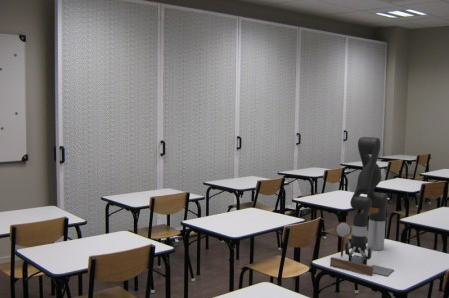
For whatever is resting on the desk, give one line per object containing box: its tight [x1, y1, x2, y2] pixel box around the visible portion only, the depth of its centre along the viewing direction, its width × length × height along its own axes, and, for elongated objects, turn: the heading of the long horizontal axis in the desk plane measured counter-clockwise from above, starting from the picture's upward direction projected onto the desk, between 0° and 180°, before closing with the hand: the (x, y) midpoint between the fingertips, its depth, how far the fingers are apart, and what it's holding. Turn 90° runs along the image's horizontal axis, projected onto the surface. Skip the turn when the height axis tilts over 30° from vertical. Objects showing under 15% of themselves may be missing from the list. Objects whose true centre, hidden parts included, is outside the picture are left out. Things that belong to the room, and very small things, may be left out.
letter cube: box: [351, 254, 364, 264], centre depth 258 cm, size 5×5×5 cm
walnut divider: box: [329, 256, 374, 277], centre depth 251 cm, size 2×22×4 cm, turn 54°
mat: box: [371, 264, 395, 278], centre depth 251 cm, size 11×11×1 cm
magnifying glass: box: [334, 221, 352, 258], centre depth 271 cm, size 9×2×20 cm, turn 91°
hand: (357, 264), depth 258 cm, fingers open, 7 cm apart
